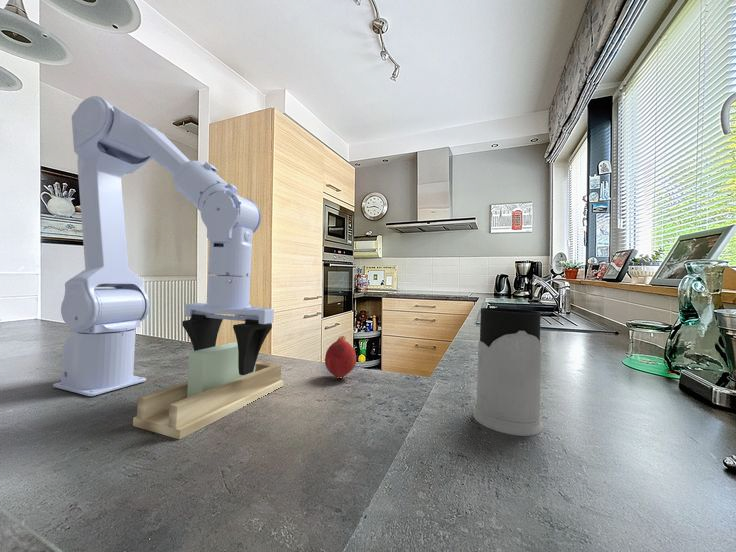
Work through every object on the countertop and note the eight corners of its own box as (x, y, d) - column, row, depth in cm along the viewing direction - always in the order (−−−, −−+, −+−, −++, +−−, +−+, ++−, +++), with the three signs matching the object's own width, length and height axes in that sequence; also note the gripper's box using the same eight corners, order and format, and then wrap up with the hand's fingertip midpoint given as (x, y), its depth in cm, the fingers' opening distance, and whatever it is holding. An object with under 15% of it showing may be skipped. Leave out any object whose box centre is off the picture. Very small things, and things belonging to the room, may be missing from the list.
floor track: (133, 425, 36) (134, 396, 36) (247, 380, 54) (247, 360, 54) (179, 439, 34) (181, 407, 34) (283, 386, 52) (284, 365, 52)
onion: (350, 385, 53) (352, 339, 54) (319, 382, 55) (321, 337, 55) (358, 375, 59) (360, 334, 59) (330, 373, 60) (331, 332, 60)
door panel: (186, 405, 40) (189, 352, 40) (242, 383, 50) (244, 339, 50) (200, 409, 39) (203, 354, 39) (254, 385, 49) (256, 341, 49)
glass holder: (484, 433, 38) (488, 311, 38) (456, 392, 52) (459, 304, 52) (557, 437, 38) (560, 314, 38) (509, 395, 52) (511, 306, 52)
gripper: (287, 278, 46) (284, 369, 46) (214, 275, 51) (210, 357, 51) (255, 277, 40) (251, 383, 39) (174, 274, 44) (169, 368, 44)
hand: (225, 369), depth 45 cm, fingers open, 7 cm apart
